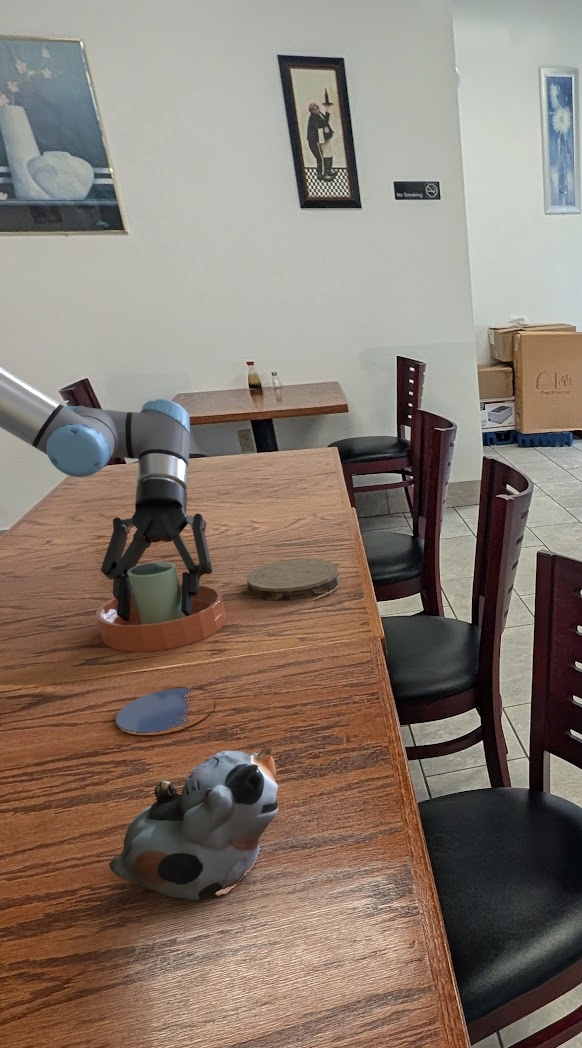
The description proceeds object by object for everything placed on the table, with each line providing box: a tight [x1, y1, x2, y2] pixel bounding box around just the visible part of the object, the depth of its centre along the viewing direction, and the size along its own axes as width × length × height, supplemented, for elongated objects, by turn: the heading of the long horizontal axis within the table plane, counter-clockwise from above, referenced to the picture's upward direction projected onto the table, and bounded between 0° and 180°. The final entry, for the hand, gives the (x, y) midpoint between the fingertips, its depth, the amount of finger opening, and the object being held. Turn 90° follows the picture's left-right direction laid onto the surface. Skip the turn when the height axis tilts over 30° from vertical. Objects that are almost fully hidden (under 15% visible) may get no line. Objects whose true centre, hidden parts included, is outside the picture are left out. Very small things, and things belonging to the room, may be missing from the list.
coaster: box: [115, 687, 199, 733], centre depth 108 cm, size 12×12×1 cm
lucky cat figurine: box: [108, 745, 279, 901], centre depth 78 cm, size 15×12×14 cm
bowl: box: [94, 582, 228, 653], centre depth 131 cm, size 18×18×5 cm
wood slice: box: [246, 558, 341, 602], centre depth 149 cm, size 16×16×3 cm
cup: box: [127, 561, 186, 625], centre depth 130 cm, size 7×7×10 cm
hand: (155, 615), depth 127 cm, fingers open, 9 cm apart
